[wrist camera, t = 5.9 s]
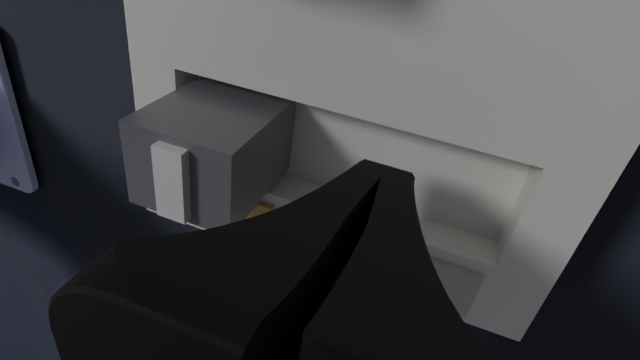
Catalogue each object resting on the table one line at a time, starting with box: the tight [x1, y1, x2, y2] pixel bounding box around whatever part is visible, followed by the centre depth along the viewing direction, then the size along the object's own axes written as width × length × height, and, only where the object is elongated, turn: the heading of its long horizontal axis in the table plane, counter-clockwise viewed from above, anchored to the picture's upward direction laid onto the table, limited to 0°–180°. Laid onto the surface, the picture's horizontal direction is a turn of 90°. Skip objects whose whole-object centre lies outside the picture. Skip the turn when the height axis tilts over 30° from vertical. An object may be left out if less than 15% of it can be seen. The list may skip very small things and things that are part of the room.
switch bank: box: [124, 0, 640, 342], centre depth 11 cm, size 13×15×3 cm
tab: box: [118, 76, 296, 229], centre depth 12 cm, size 3×2×4 cm
